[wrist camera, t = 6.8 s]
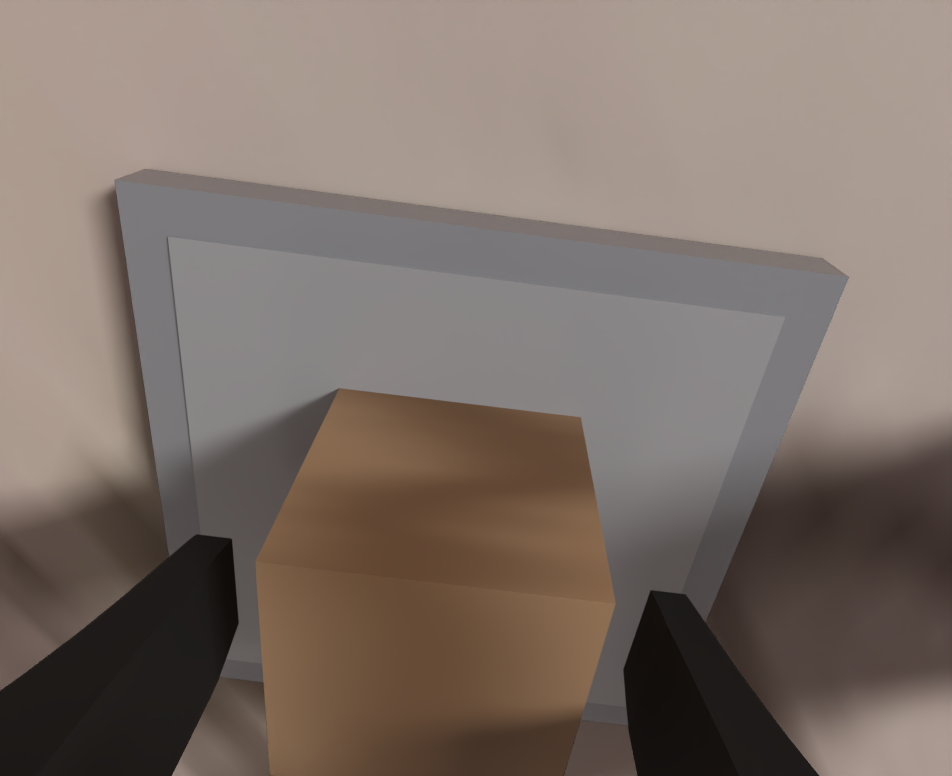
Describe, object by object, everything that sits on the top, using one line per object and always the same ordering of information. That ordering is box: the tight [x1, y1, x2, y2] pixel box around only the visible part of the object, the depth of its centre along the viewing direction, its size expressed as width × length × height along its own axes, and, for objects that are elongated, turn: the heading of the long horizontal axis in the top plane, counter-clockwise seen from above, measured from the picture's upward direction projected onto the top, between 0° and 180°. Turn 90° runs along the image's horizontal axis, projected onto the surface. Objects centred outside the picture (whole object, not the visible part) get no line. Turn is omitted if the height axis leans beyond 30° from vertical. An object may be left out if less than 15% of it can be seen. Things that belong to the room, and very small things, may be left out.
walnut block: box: [255, 388, 616, 776], centre depth 11 cm, size 4×4×4 cm
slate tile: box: [115, 169, 849, 726], centre depth 14 cm, size 12×12×1 cm
